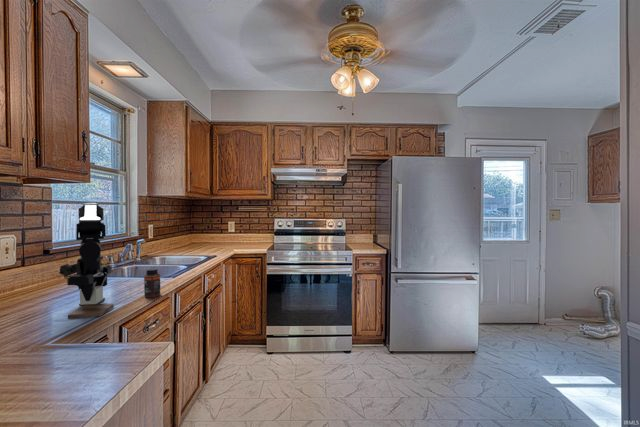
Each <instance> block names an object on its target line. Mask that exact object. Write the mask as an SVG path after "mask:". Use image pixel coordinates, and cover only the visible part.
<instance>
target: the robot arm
mask: <svg viewBox="0 0 640 427" xmlns="http://www.w3.org/2000/svg"><path fill="white" fill-rule="evenodd" d="M104 214H105V213H104V208H103V207H101V206H99V203H97V202H84V203H83V204H82V206H81V207H79V208H78V222H76V229H75V230H76V235H75V236H76V237H75V238H76V241H80V247H79V249H78V252H79V255H80V258H78V259H77V261H76V263H73V264H71V265H70V264H69V263H66V264H63V265H60V266H59V272H58V274H60V275H62V276H63V277H64V278H67V279H66V282H67V283H66V286H76V287H78V288H77V289H78V290H81V291H82V293H83V295H84V298H85V300H86V301H90V299H91V296H92V293H93V290H94V287H95V286H103V287H106V286H108V274H111V273H113V272H112V269H113V268H112V267H113V266H111V265H109V264H105V265H104V264H102V260H104V255H101V248H102V247H101V240H103V239H104V237H106V233H107V232H106V224H105V222H103V221H104V220H105V219H104ZM68 276H69V277H68ZM105 300H106V298H105V297H103V300H101V301H100V302H98V303H97V304H96V305H98V304H101V303H102V302H104V301H105ZM78 305H79V306H81V305H80V303H78ZM84 305H93V304H84Z"/></svg>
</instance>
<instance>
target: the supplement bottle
mask: <svg viewBox="0 0 640 427" xmlns="http://www.w3.org/2000/svg"><path fill="white" fill-rule="evenodd" d="M143 282H144V284H143V288H144V290H143V291H144V293H143V294H144V297H145V298H146V299H147V298H149V299H151V298H156V297H159V296H160V295H161V274H160V273H159V272H158V268H156V267H155V268H153V267H151V268H147V269H146V274H145V275H144V276H143Z"/></svg>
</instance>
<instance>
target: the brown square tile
mask: <svg viewBox="0 0 640 427" xmlns="http://www.w3.org/2000/svg"><path fill="white" fill-rule="evenodd" d="M112 307H113V308H115V306H114V303H103V304H102V303H99V304H92V305H80V307H78V308H76V309H75V310H73V311H72V312H70V313H68V314H67V319H79V318H78V317H84V318H93V317H92V316H101V317H102V315H103V314H104V313H105V314H107V313H108V312H109V311H110V310H112V309H113V308H112ZM111 308H112V309H111ZM109 309H110V310H109ZM108 310H109V311H108ZM107 311H108V312H107ZM105 314H104V315H105ZM104 315H103V316H104Z"/></svg>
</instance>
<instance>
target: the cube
mask: <svg viewBox="0 0 640 427" xmlns="http://www.w3.org/2000/svg"><path fill="white" fill-rule="evenodd" d="M103 287H104V286H95V287H94V290H93V293H92V296H91V299H90V301H86V300H85V298H84V295H83V293H82V291H81V289H79V302H80V303H79V304H80V305H79V306H83V305H84V304H92V305H98V304H97V303H98V302H100V301H101V300H103V298H104V292H103V291H104V288H103ZM103 301H104V300H103ZM100 303H101V302H100Z"/></svg>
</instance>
